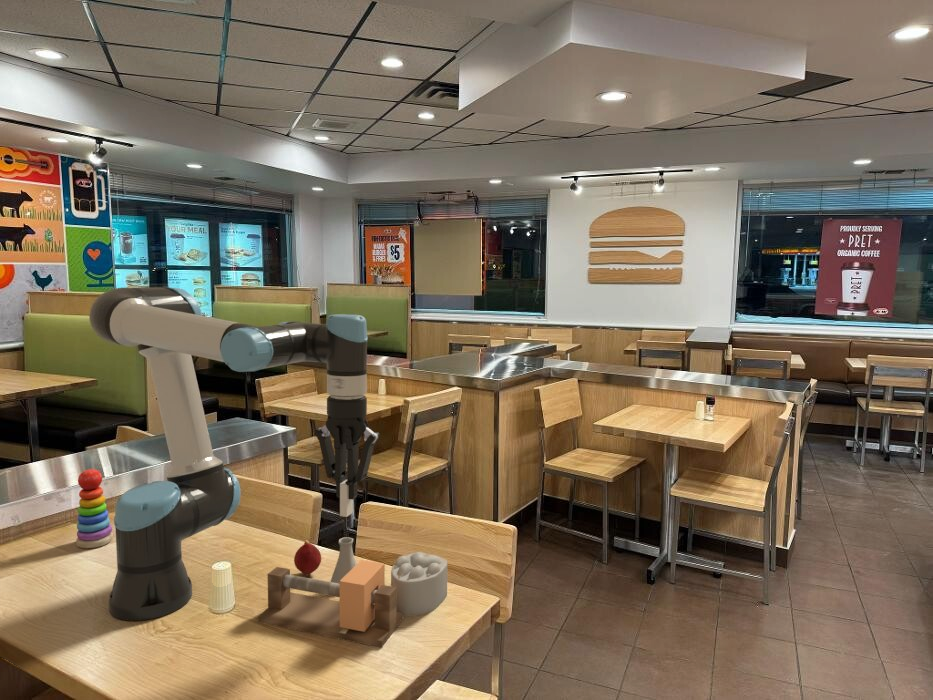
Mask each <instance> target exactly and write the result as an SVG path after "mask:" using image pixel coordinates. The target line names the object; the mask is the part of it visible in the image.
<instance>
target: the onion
mask: <svg viewBox="0 0 933 700" xmlns="http://www.w3.org/2000/svg"><path fill="white" fill-rule="evenodd" d="M293 562H294V566H295V568H296V569H297V570H298V571H299V572H300V573H302V574H304V575H305V576H310V575H311V574H312V573H314V572H315V571H317V570H318V568H319V566H320V565H321V563H322V554H321V552H320V550H319V548H318V547H317V546H315V545H314V544H312V543H311V542H309V541H308V540H307V539H306V540H304V544H302V545H301V546H300V547H299V548H298V549H297V550H296V552H295V554H294V557H293Z"/></svg>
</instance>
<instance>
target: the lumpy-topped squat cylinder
mask: <svg viewBox="0 0 933 700" xmlns="http://www.w3.org/2000/svg"><path fill="white" fill-rule="evenodd" d="M448 566H449V565H448V561H447V559H446V558H443V557H441V556H439V555H436V554H429V553H425V552H422V551H417V552H416V551H415V552H413V553H409V554H407V555H404V554H403V555H400V556H399V557H397V558H396V560H395V563H394V564H392V567H391V570H390V586H392V587H397V590H396V612H401V613H403V617H417V616H421V615H424V614H425V615H426V614H427V613H430V612H433V611H435V610H436V609H437V608H438V607H439V606H441V605H442V604H443V603H444V601H445V599H446V598H447V596H448Z"/></svg>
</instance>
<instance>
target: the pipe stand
mask: <svg viewBox="0 0 933 700" xmlns="http://www.w3.org/2000/svg"><path fill="white" fill-rule="evenodd" d="M291 590H297V591H302V592H303V591H304V592H307V593H308V592H309V593H312V594H313V593H314V594H318V595H319V594H320V595H325V596H329V597H337V598H340V584H339V583H333V582H330V581H327V580H321V579H320V580H319V579H314V578H308V577H305V576H304V577H303V576H297V575H291V570H290V568H286V567H279V566H276V567H274V568H273V569H272V570H271V571H269V572H268V573H267V608H265V610H264V611H262V612H261V613H260V614H259V615H257V623H258V624H264V625H269V626H275V627H278V628H279V627H280V628H283V629H288V630H295V631H298V632H299V631H300V632H303V633H311V634H314V635H319V636H324V637H329V638H334V639H338V638H339V640H343V639H344V641H348V640H349V642H353V641H354V642H353V643H358V644H364V645H367V646H368V645H369V646H374V647H378V646H379V647H378V648H383V646H384V645H385V644H386V643H387V641H388V640H389V639H390V638H391V636H392V635H393V633H394V632H395V630H397V628H398V626H399V625H400V623H401V622H402V621H403V619H404V616H403V613H401V612H396V590H397V587H392V586H391V585H386V584H385V585H381V586H380V588H379V589H378V590H373V591H372V592H371V603H374V604H375V619H374V621H373V622H372V623H371V624H370V626H369V627H368V628H367V629H366V630H365V632H363V631H358V630H352V629H347V628H342V627H340V600H335V599H329V598H322V597H317V596H313V595H312V596H311V595H308V594H301V593H297V592H296V593H294V592H291Z"/></svg>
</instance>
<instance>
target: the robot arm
mask: <svg viewBox="0 0 933 700" xmlns="http://www.w3.org/2000/svg"><path fill="white" fill-rule="evenodd" d="M88 315H89V316H88V317H89V324H90V326H91V328H92V331H93V332H94V333H95V334H96V336H98V337H99V338H100V339H101V340H103V341H105V342H107V343H111V344H114V345H119V346H124V347H130V348H131V347H135V346H137V350H138V353H139V354H140V355H142V356H143V357H144V358H146V359H147V361H148V363H149V369H150V373H151V378H152V382H153V385H154V386H153V387H154V389H155V390H154V391H155V396H156V398H157V405H158V409H159V412H160V418H161V423H162V427H163V431H164V435H165V440H166V445H167V448H168V454H169V458H170V462H171V467H170V469H169V471H168V472H167V474H166V480H158V481H157V480H156V481H152V482H150V483H147V482H146V483H143V484H139V485H137V486H134V487H132V488H130V489H128V490H126V491H124V492H123V493H122V494H121V495H120V496H119V497H118V498H117V500H116V503H115V506H114V517H113V524H114V526H115V528H114V529H115V543H116V544H115V546H116V547H115V548H116V565H117V567H116V568H117V571H116V574H115V578H114V580H113V585H112V588H111V592H110V594H109V597H108V598H109V599H108V610H109V613H110V615H111V616H112V617H114V618H115V619H118V620H122V621H131V622H135V621H136V622H137V621H138V622H139V621H145V620H152V619H156V618H160V617H163V616H166V615H168V614H169V615H170V614H171V613H173V612H175V611H178V610H179V609H181V608H182V607H184V606H185V605H186V604H187V603H189V602H190V600H192V597H193V584H192V580H191V578H190V577H189V575H188V572H187V571H188V570H187V569H186V567H185V564H184V561H183V557H182V541H183V540H186V539H188V538H190V537H192V536H194V535H196V534H199V533H200V532H203V531H206V530H207V529H209V528H211V527H215V526H219V524H221V523H222V522H224V521H225V520H227V519H229V518H230V517H232V516H233V515H234V514H235V512H236V511H237V510H238V509H237V508H238V507H239V504H240V502H241V497H242V496H241V495H242V493H241V485H240V482H239V480H238V478H237V476H236V475H234V473H233V471H232V470H230V469H229V468H226V467H225V466H224V462H223V460H222V459H220V458H218V457H216V456H215V455H214V452H213V447H212V443H211V442H212V441H211V438H210V434H209V429H208V425H207V420H206V415H205V409H204V407H203V401H202V398H201V394H200V393H201V392H200V388H199V384H198V380H197V375H196V370H195V367H194V361H193V357H192V356H194V357H199V358H204V359H209V360H214V361H217V362H221V363H225V365H227V366H228V368H230V370H232V371H235V372H238V373H243V372H244V373H245V372H257V371H260V370H264V369H269V368H275V367H279V366H280V367H281V366H284V365H285V366H286V365H291V364H297V363H301V362H308V363H309V362H311V363H313V362H314V363H322V364H326V393H327V395H329V396H328V397H326V415H327V419H326V421H325V424H324V425H323V426H321V427H318V428H316V429H315V430H314V435H315V437H316V438H317V441H318V443H319V446H320V452H321V456H322V460H323V465H324V469H325V474H326V477H327V478H328V479H332V480H334V481H335V483H336V484H335V493H336V494H335V496H336V498H337V499H338V498H339V516H340V517H345V518H347V517H349V516H350V515H351V514H353V513H354V500H355V499H356V498H357V496H358V483H360V482H362V481H363V480H365V479H366V478H367V477H368V473H369V469H370V463H371V461H372V456H373V453H374V448H375V444H376V442H377V441H378V439H379V438H380V436H381V435H380V433H379V432H374V431H373V430H372V429H371V428H369V423H368V420H367V413H368V411H367V409H368V407H367V405H368V403H367V402H368V401H367V398H368V397H366V394H367V393H368V383H367V382H368V378H367V377H368V375H367V371H368V370H367V369H368V368H367V364H368V363H367V359H368V356H367V355H368V351H367V350H368V340H369V337H368V329H367V328H368V327H367V326H368V325H367V319H366V318H365V316H363V315H361V314H347V313H345V314H344V313H340V314H339V313H338V314H330V315H328V316H327V317H326V323H313V322H300V321H298V320H293V321H281V322H279V323H278V324H274V325H263V326H261V325H252V324H247V323H242V322H236V321H232V320H226V319H221V318H217V317H216V318H215V317H210V316H206V315H205V316H204V315H203V314H202V309H201V306H200V305H199V303H198V301H197V300H196V298H195V297H194V296H193V295H192V294H191V293H189V292H188V291H187V290H185V289H182V288H179V287H170V286H150V287H147V286H146V287H143V286H142V287H116V288H112V289H109V290H107V291H104V292H102V293H101V294H100V295H99V296H98V297H97V298H96V299H95V300H94V302H93V303H92V304H91V307H90V310H89V314H88ZM363 436H364V439H363V440H364V444H363V445H362V450H361V454H360V458H359V448H360V444H361V441H360V440H361V439H362V438H363ZM332 439H333V442H332Z"/></svg>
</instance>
